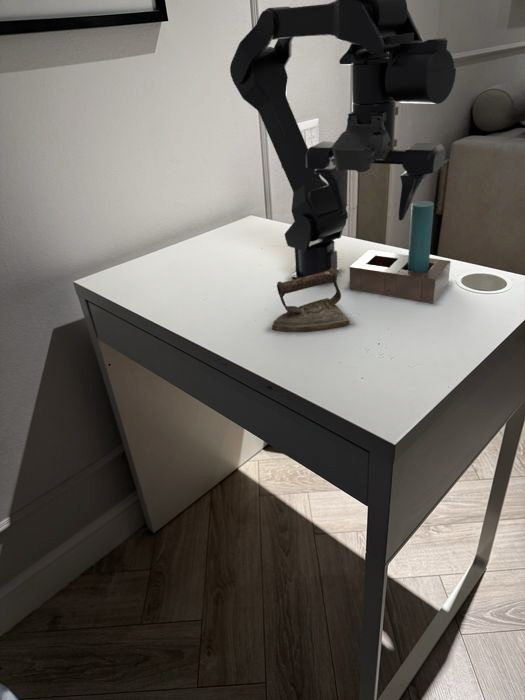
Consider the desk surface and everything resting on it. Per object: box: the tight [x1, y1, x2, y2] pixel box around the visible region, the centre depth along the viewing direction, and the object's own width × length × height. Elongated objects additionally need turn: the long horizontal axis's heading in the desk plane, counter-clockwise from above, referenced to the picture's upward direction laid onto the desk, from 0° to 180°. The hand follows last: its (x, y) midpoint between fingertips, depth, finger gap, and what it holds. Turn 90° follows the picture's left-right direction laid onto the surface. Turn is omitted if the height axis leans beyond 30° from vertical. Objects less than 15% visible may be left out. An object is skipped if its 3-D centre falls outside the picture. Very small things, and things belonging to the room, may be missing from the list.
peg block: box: [349, 249, 452, 304], centre depth 85 cm, size 14×8×4 cm, turn 57°
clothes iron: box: [271, 268, 351, 333], centre depth 76 cm, size 7×11×10 cm, turn 107°
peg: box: [407, 200, 435, 273], centre depth 81 cm, size 3×3×14 cm
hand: (371, 216), depth 77 cm, fingers open, 9 cm apart
